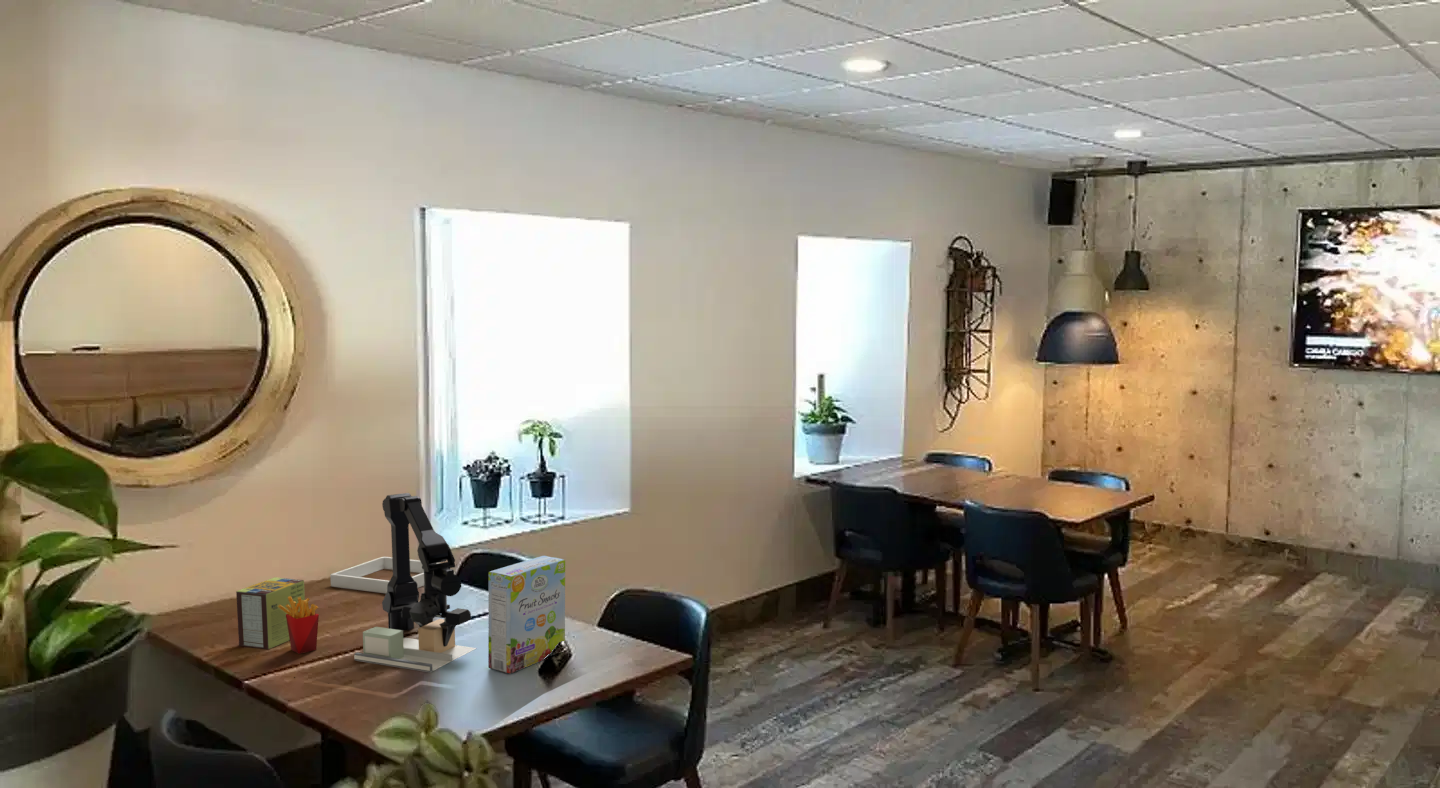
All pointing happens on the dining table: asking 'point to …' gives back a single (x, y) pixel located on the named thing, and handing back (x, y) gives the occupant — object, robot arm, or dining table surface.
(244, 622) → the protein box
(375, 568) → the serving tray rim
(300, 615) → the french fries
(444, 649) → the ochre tea box
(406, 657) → the shelf
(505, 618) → the snack box
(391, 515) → the robot arm
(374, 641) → the sage tea box
